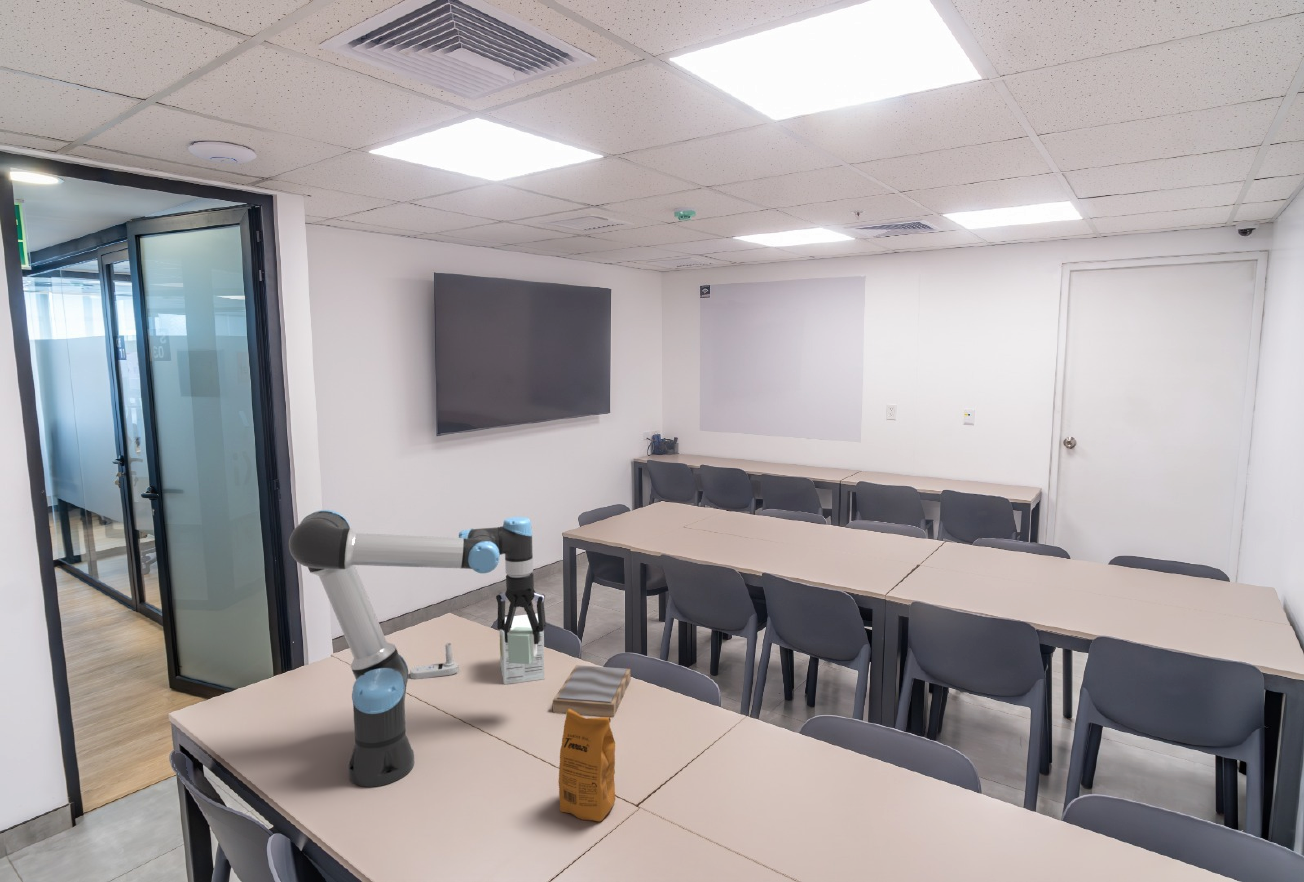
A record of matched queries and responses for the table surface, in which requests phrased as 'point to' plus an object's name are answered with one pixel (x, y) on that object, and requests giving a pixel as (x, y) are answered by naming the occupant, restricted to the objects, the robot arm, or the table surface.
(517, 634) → the sage block
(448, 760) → the table surface
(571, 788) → the coffee package
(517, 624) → the supplement box
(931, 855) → the table surface
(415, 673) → the electronic device
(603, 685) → the base
